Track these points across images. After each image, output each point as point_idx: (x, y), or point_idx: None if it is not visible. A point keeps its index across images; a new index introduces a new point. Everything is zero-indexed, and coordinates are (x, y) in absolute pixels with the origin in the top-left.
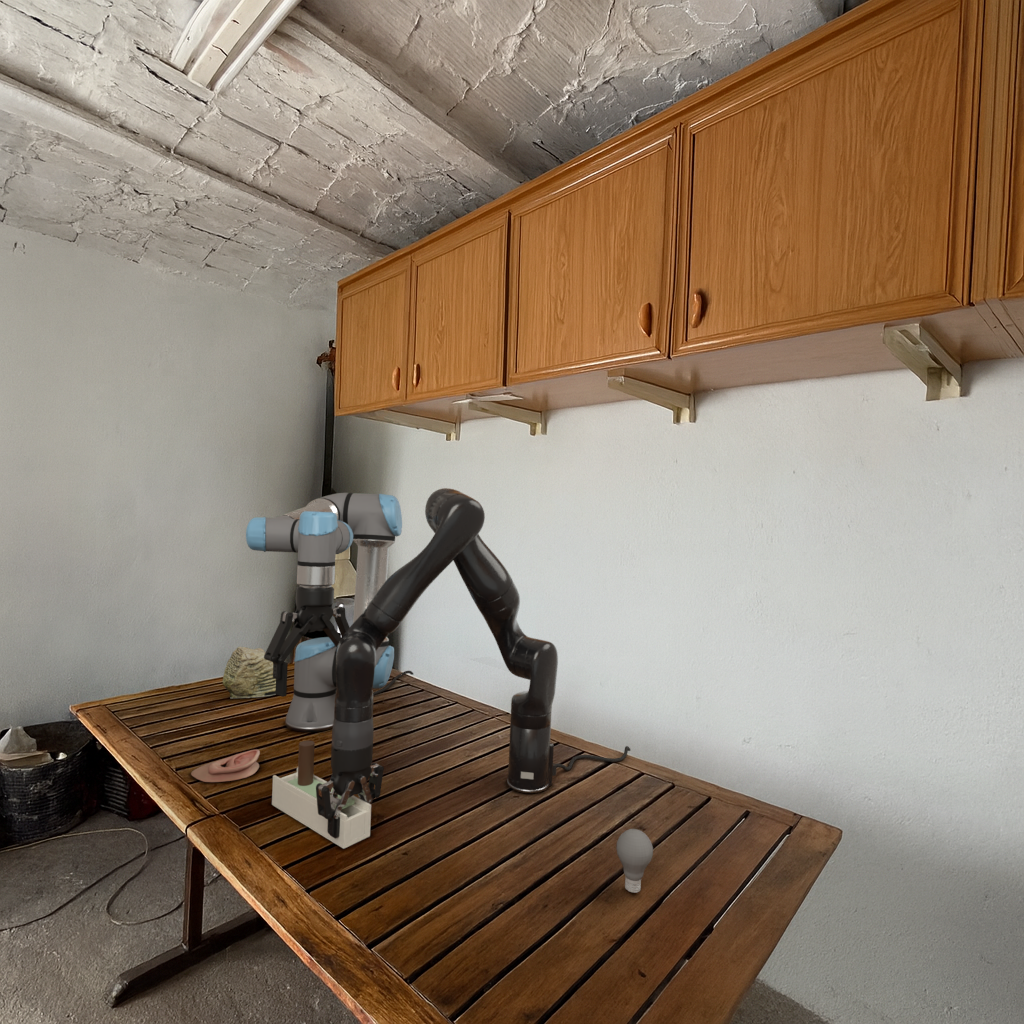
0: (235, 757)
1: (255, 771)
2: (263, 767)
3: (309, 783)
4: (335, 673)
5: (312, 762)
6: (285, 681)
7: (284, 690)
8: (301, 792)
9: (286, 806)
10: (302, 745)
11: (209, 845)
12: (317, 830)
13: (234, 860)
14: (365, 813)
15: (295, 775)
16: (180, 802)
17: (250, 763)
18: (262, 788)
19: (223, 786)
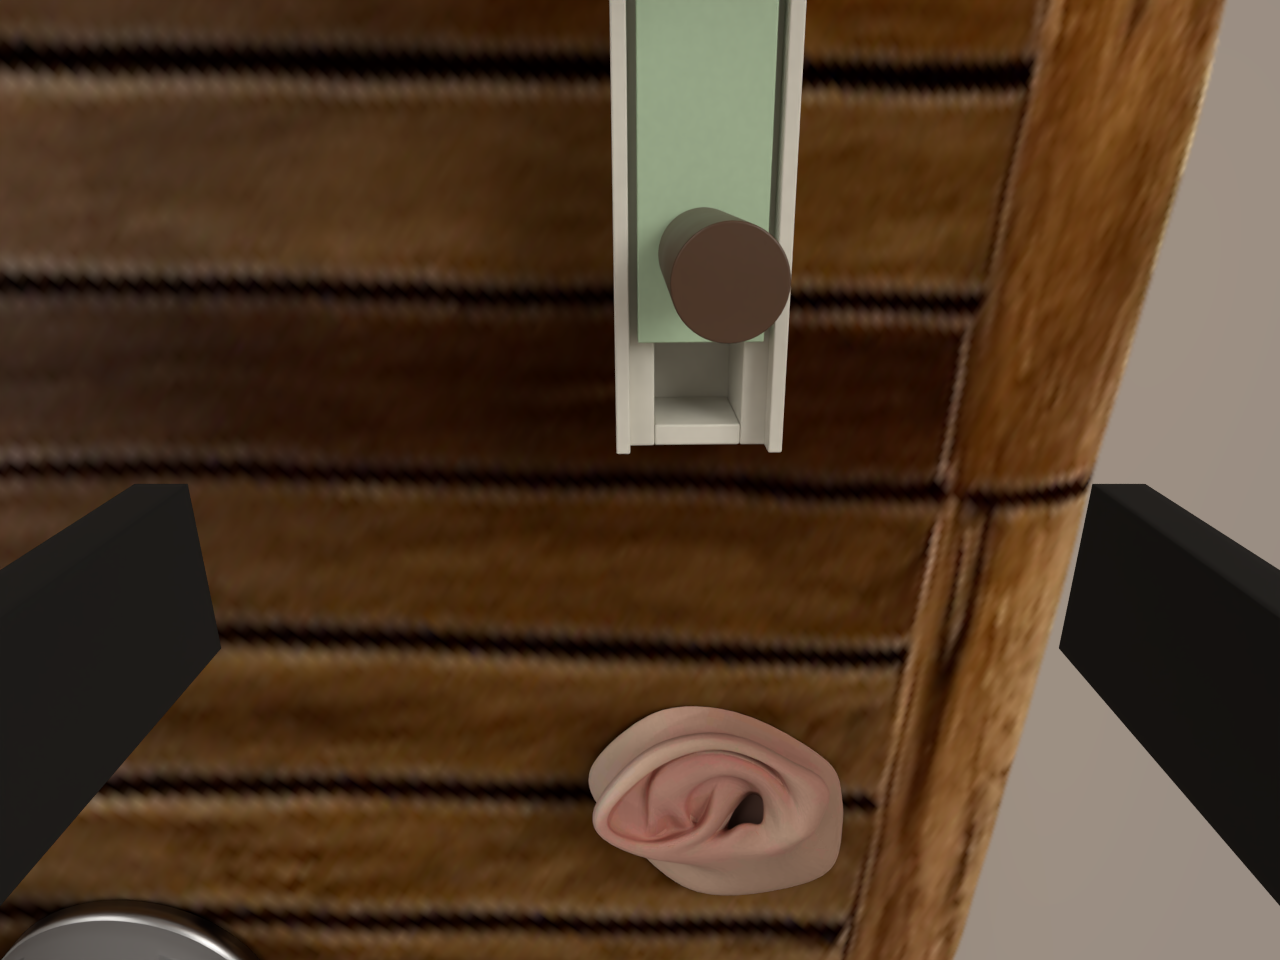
0: (691, 835)
1: (638, 724)
2: (579, 748)
3: (705, 207)
4: (144, 683)
5: (699, 216)
6: (1254, 581)
7: (1171, 518)
8: (797, 149)
9: None
10: (782, 266)
11: (1140, 271)
12: None
13: (1162, 65)
14: None
15: (653, 419)
16: (989, 682)
17: (676, 744)
18: (695, 576)
19: (798, 697)
